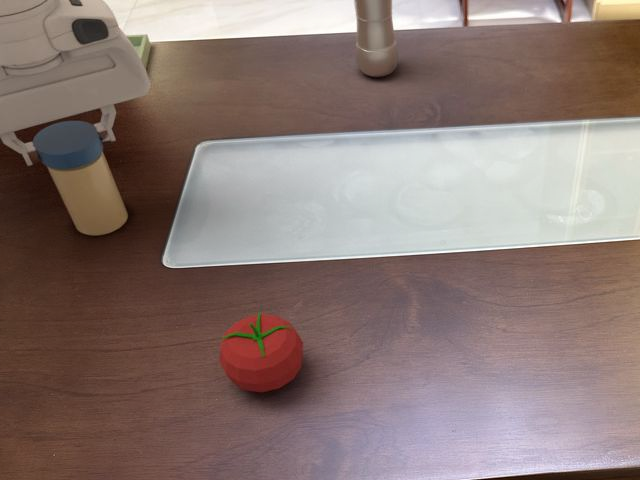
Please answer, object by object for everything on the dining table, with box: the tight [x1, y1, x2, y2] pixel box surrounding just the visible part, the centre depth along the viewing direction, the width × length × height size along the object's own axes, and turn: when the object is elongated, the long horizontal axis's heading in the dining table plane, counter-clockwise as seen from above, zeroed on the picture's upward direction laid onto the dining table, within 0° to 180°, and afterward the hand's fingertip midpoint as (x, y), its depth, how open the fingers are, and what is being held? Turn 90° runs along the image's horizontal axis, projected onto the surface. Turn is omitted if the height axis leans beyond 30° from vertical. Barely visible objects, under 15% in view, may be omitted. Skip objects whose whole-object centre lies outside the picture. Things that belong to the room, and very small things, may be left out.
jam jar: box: [46, 150, 129, 236], centre depth 83 cm, size 6×6×11 cm
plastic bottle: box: [353, 0, 399, 78], centre depth 104 cm, size 6×7×20 cm
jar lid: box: [32, 120, 104, 169], centre depth 79 cm, size 7×6×2 cm
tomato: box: [219, 310, 304, 393], centre depth 70 cm, size 8×8×8 cm
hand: (72, 150), depth 80 cm, fingers closed on jar lid, 6 cm apart
